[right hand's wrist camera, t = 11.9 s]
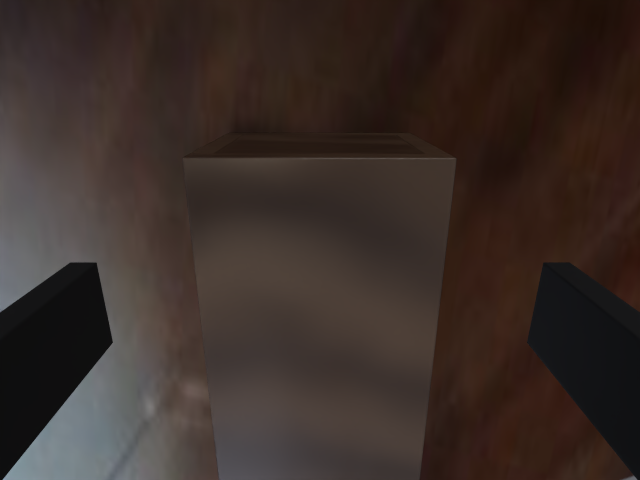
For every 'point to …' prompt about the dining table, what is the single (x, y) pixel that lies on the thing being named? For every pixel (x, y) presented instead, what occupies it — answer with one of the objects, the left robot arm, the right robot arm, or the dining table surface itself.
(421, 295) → the cabinet
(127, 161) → the dining table surface
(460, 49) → the dining table surface
